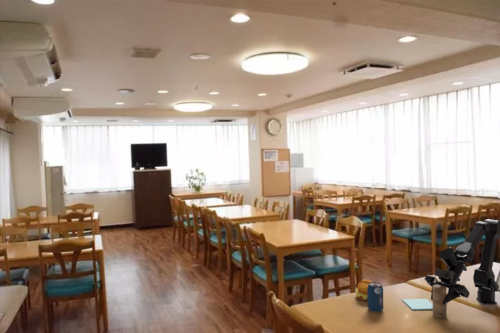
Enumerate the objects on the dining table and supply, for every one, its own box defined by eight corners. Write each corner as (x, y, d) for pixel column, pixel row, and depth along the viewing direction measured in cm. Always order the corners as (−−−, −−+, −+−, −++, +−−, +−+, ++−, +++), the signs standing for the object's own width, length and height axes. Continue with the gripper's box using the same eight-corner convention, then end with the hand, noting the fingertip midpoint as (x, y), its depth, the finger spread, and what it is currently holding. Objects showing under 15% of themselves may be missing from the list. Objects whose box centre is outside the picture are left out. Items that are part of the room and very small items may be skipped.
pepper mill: (442, 313, 176) (442, 284, 175) (449, 318, 170) (448, 288, 170) (430, 313, 175) (430, 284, 175) (436, 318, 170) (436, 289, 170)
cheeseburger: (374, 293, 202) (375, 276, 199) (378, 306, 191) (380, 288, 189) (354, 293, 202) (354, 275, 200) (357, 305, 192) (358, 287, 190)
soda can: (384, 313, 177) (384, 286, 177) (368, 312, 178) (368, 286, 178) (382, 307, 184) (382, 281, 183) (366, 306, 185) (366, 281, 185)
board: (426, 299, 192) (426, 298, 192) (438, 309, 180) (438, 308, 180) (402, 300, 192) (402, 299, 192) (412, 310, 180) (412, 308, 180)
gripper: (426, 257, 182) (410, 285, 177) (465, 267, 166) (448, 298, 161) (438, 271, 186) (422, 299, 181) (476, 282, 169) (460, 313, 165)
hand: (437, 301), depth 172 cm, fingers closed on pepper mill, 5 cm apart
